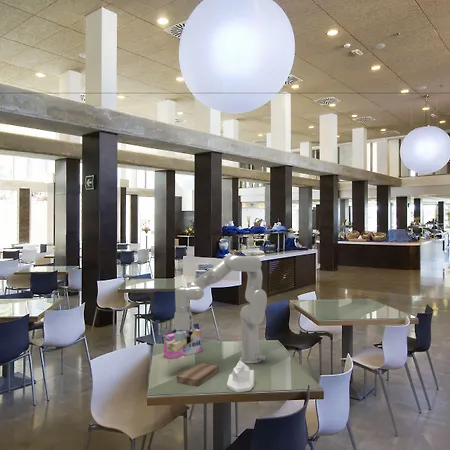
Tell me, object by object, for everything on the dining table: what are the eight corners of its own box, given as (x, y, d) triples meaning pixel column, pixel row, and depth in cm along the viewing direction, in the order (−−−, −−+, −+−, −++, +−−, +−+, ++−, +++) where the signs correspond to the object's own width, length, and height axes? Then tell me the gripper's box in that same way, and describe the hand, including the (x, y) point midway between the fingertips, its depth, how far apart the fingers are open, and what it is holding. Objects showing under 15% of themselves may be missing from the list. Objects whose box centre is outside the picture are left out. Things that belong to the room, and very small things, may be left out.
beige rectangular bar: (194, 342, 232) (193, 335, 232) (176, 351, 216) (175, 344, 216) (185, 341, 234) (185, 334, 234) (167, 350, 218) (166, 343, 218)
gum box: (196, 348, 264) (196, 327, 264) (203, 351, 258) (203, 329, 258) (163, 356, 250) (163, 333, 250) (170, 359, 244) (169, 336, 244)
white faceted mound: (261, 393, 197) (260, 366, 193) (230, 398, 194) (228, 372, 190) (254, 377, 208) (253, 352, 205) (224, 382, 206) (223, 357, 202)
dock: (218, 371, 222) (218, 366, 222) (197, 386, 202) (197, 380, 202) (199, 368, 227) (199, 362, 227) (177, 382, 208) (177, 376, 208)
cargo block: (184, 339, 224) (184, 331, 224) (181, 341, 221) (180, 333, 221) (178, 338, 226) (178, 331, 226) (174, 340, 222) (174, 333, 222)
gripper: (199, 309, 227) (201, 342, 227) (173, 307, 235) (174, 339, 235) (192, 312, 220) (193, 346, 221) (165, 310, 228) (167, 343, 228)
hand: (183, 342), depth 228 cm, fingers closed on beige rectangular bar, 5 cm apart
